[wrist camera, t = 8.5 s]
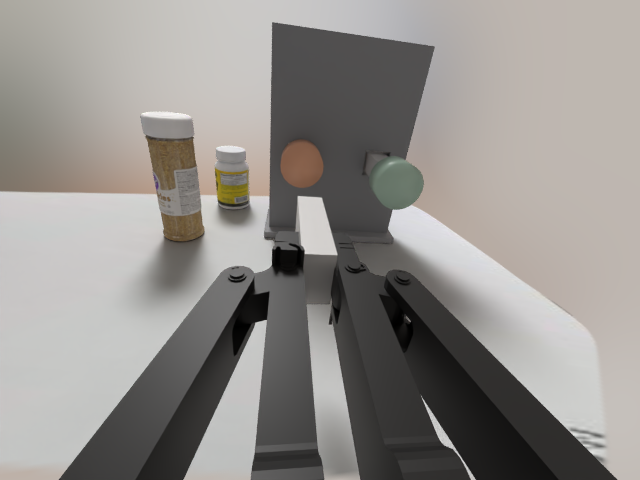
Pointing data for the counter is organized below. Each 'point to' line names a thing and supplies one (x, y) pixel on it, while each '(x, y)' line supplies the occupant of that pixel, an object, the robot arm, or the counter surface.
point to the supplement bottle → (232, 177)
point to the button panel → (341, 120)
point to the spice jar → (174, 173)
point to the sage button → (393, 179)
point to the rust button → (301, 163)
